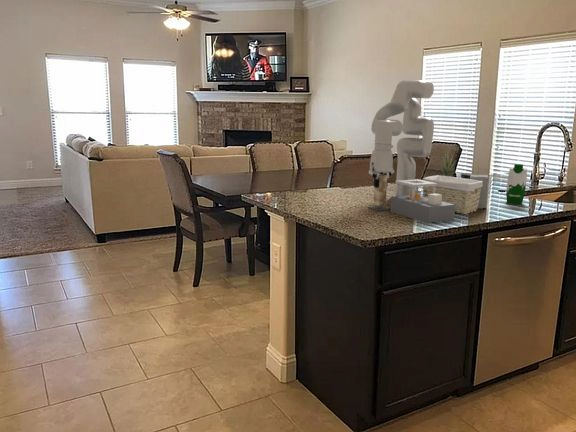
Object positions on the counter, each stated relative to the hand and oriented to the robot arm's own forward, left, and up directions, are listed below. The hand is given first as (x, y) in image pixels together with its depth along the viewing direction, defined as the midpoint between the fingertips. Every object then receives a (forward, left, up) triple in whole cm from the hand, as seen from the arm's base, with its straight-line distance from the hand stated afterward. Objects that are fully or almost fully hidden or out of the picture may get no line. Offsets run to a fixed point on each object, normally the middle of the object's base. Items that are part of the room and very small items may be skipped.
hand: (380, 186), depth 236 cm
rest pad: (0, 0, -11) cm, 11 cm away
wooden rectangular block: (0, 0, -8) cm, 8 cm away
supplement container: (-69, -14, -11) cm, 71 cm away
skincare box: (-48, +13, -11) cm, 51 cm away
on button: (-9, +27, -7) cm, 29 cm away
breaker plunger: (-9, +14, -10) cm, 19 cm away
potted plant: (-73, -36, -11) cm, 82 cm away
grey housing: (-9, +19, -11) cm, 24 cm away
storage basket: (-32, +12, -11) cm, 36 cm away
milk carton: (-76, +11, -11) cm, 78 cm away
